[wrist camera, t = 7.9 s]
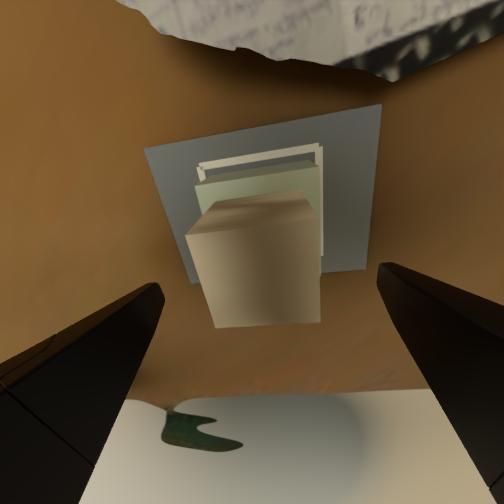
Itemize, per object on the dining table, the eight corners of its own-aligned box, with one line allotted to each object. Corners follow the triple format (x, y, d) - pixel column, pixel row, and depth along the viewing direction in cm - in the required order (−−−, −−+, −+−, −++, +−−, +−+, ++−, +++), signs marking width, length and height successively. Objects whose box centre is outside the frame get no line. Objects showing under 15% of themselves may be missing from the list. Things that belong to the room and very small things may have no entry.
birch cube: (232, 272, 15) (215, 328, 11) (215, 201, 13) (184, 235, 8) (305, 265, 14) (320, 322, 10) (301, 188, 12) (318, 218, 8)
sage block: (230, 257, 19) (221, 284, 15) (211, 175, 16) (194, 185, 12) (311, 249, 18) (321, 276, 14) (308, 159, 15) (319, 166, 11)
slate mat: (192, 281, 21) (190, 284, 21) (145, 148, 16) (142, 148, 15) (364, 266, 19) (366, 269, 18) (379, 104, 13) (383, 103, 13)
